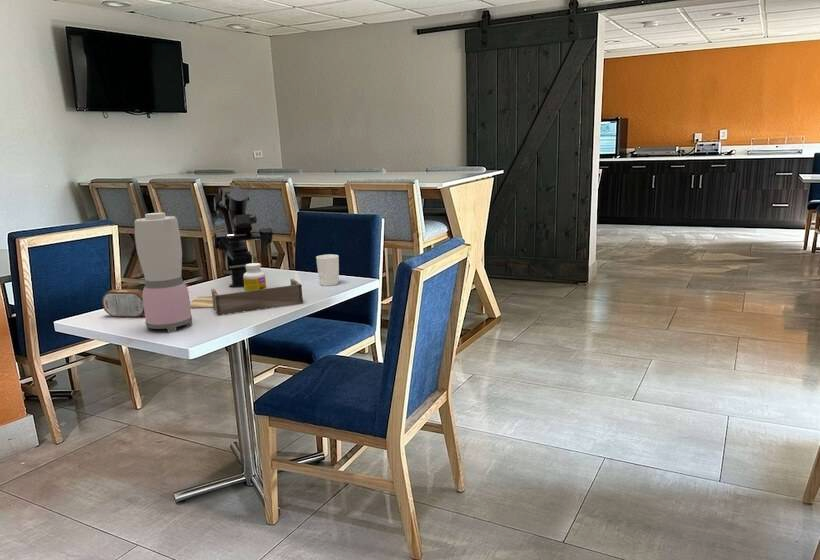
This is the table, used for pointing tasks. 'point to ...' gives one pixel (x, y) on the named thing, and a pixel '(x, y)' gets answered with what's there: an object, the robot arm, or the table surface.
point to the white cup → (328, 269)
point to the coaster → (202, 302)
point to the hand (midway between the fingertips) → (248, 258)
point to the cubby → (257, 299)
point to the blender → (162, 272)
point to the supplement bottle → (254, 277)
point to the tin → (124, 303)
